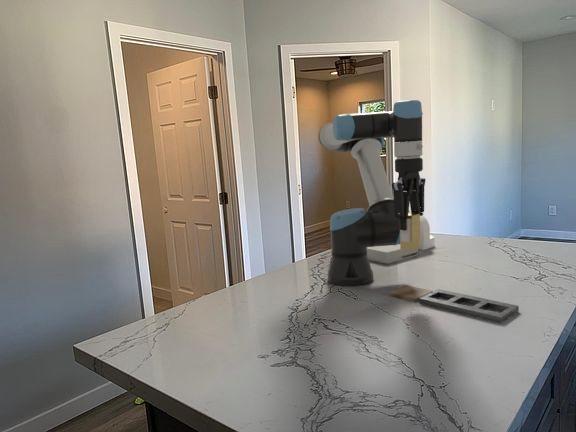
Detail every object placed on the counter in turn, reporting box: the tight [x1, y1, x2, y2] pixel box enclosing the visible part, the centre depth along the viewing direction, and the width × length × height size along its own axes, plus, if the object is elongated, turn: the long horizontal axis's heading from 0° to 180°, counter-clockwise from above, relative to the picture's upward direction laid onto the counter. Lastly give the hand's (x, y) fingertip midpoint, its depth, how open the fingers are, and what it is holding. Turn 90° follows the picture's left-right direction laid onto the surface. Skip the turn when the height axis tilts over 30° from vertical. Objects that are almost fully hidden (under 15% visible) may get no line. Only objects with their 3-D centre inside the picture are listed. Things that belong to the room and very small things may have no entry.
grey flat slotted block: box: [418, 288, 519, 324], centre depth 115 cm, size 22×10×2 cm, turn 41°
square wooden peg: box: [400, 212, 420, 251], centre depth 126 cm, size 4×4×10 cm
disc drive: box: [367, 244, 419, 265], centre depth 177 cm, size 18×22×5 cm
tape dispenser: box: [418, 215, 436, 251], centre depth 191 cm, size 12×18×14 cm, turn 40°
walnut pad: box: [388, 285, 434, 303], centre depth 128 cm, size 9×9×1 cm
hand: (410, 239), depth 126 cm, fingers closed on square wooden peg, 4 cm apart
